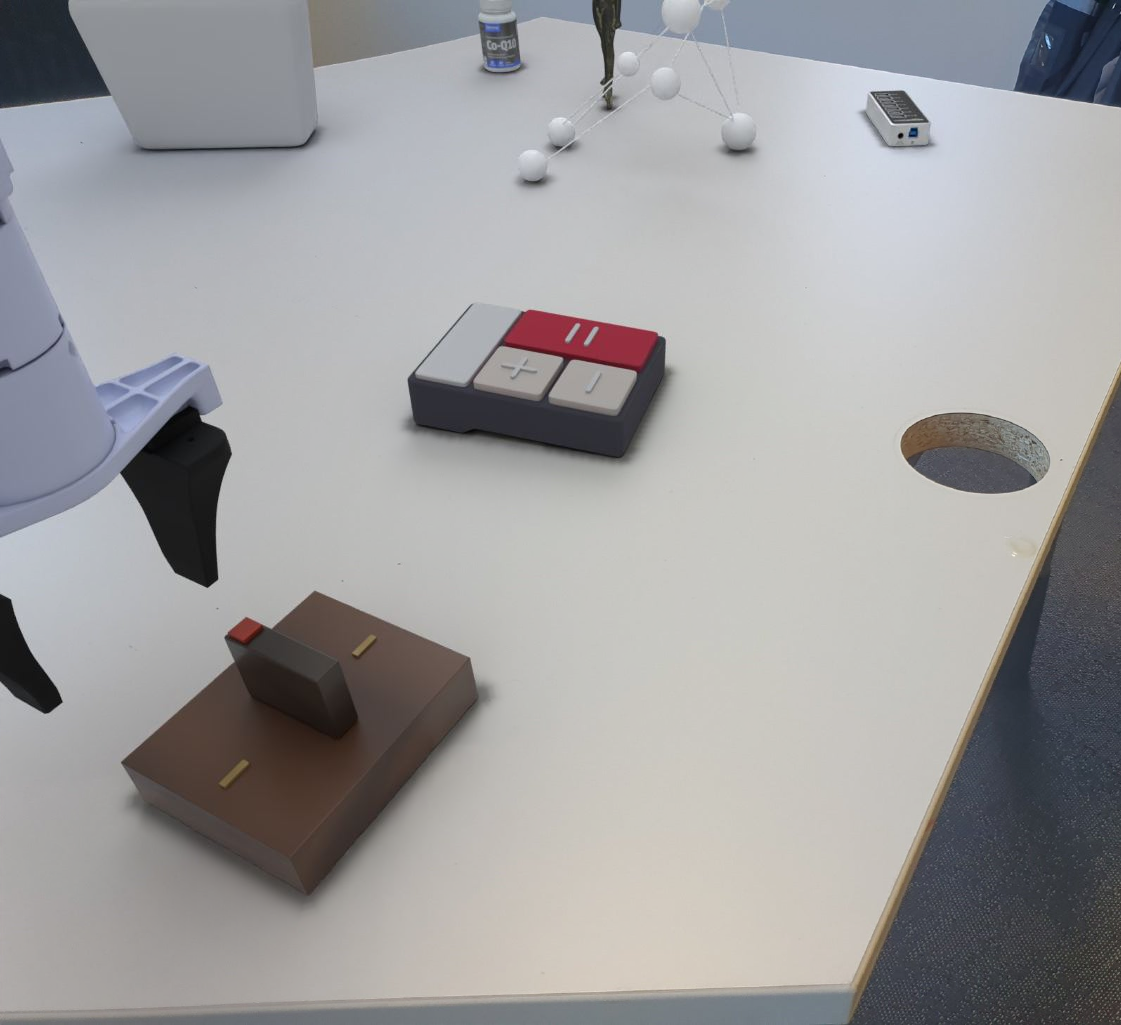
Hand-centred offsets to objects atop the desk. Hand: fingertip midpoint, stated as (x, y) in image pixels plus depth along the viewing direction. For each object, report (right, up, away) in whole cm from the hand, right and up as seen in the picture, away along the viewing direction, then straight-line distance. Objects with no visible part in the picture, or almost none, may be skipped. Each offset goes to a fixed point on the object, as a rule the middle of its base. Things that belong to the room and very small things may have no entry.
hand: (123, 633), depth 41 cm
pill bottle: (0, +62, +87) cm, 107 cm away
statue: (+14, +53, +77) cm, 94 cm away
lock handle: (+5, -4, +5) cm, 8 cm away
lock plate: (+5, -6, +7) cm, 11 cm away
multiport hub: (+47, +48, +70) cm, 97 cm away
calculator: (+13, +13, +30) cm, 35 cm away
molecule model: (+18, +42, +64) cm, 78 cm away
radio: (-27, +46, +69) cm, 87 cm away
